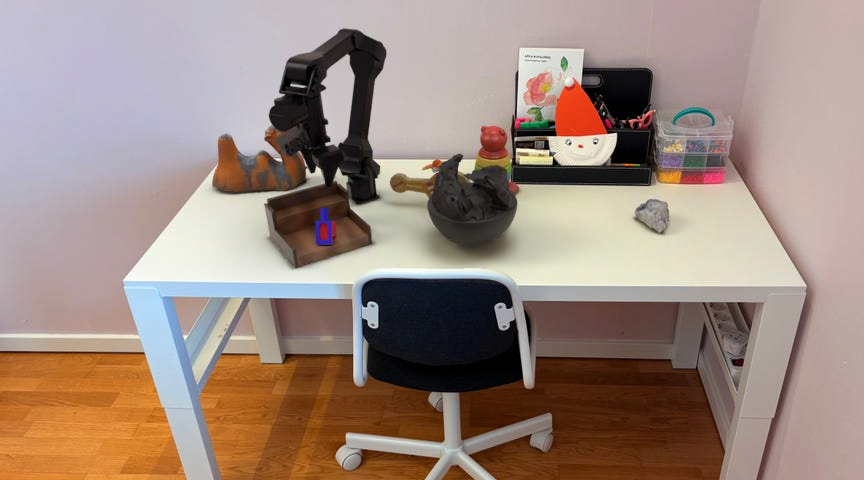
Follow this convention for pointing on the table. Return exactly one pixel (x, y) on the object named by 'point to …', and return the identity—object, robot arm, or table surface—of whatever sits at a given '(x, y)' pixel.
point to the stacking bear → (495, 152)
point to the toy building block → (325, 229)
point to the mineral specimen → (653, 214)
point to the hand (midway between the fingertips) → (320, 179)
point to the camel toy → (256, 167)
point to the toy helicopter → (420, 180)
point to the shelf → (314, 223)
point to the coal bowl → (472, 204)
